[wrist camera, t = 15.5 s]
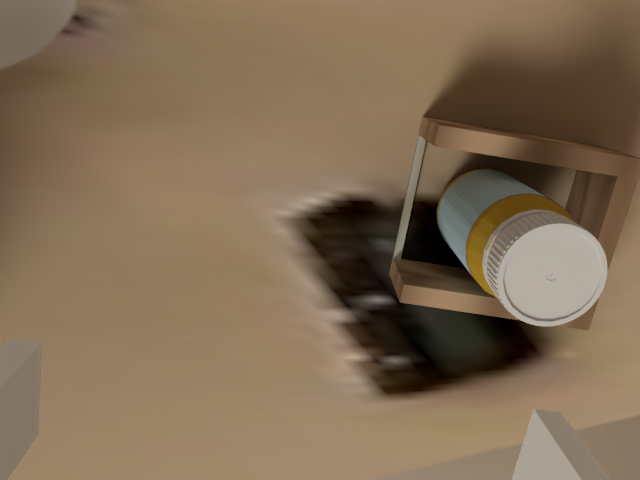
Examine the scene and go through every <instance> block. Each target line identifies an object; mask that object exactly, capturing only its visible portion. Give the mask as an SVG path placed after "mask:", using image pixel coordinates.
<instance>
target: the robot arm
mask: <svg viewBox="0 0 640 480" xmlns="http://www.w3.org/2000/svg"><path fill="white" fill-rule="evenodd" d="M41 347H42V343H40V342H32V341H25V340H17V339H10V340H9V341H8V342H7V343H6V344H5V345H4V346H3V347H2V348H1V349H0V480H7V478H8V477H9V476H10V474H11V473H12V471H13V470H14V468H15V467H16V466H17V464H18V463H19V461H20V460H21V458H22V457H23V456H24V454H25V453H26V451H27V450H28V448H29V447H30V446H31V444H32V443H33V441H34V440H35V439H36V437H37V436H38V424H39V398H40V372H41ZM512 480H610V478H609V477H608V476H607V474H606V473H605V472H604V470H603V469H602V468H601V466H600V465H599V464H598V462H597V461H596V460H595V458H594V457H593V456H592V454H591V453H590V452H589V450H588V449H587V447H586V446H585V445H584V443H583V442H582V441H581V439H580V438H579V437H578V435H577V434H576V433H575V431H574V430H573V429H572V427H571V426H570V425H569V423H568V422H567V421H566V419H565V418H564V416H563V415H562V414H561V412H553V411H546V410H538V409H534V410H533V413H532V416H531V420H530V423H529V426H528V429H527V432H526V436H525V439H524V442H523V445H522V448H521V452H520V455H519V458H518V461H517V464H516V468H515V471H514V474H513V477H512Z"/></svg>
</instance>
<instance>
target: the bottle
mask: <svg viewBox="0 0 640 480" xmlns="http://www.w3.org/2000/svg"><path fill="white" fill-rule="evenodd" d="M437 223H438V227H439V229H440V232H441V234H442V236H443V238H444V239H445V241H446V242H447V243H448V245H449V246H450V247H451V249H452V250H453V251H454V253H455V254H456V255H457V257H458V258H459V259H460V261H461V262H462V263H463V265H464V266H465V267H466V269H467V270H468V271H469V273H470V274H471V275H472V277H473V278H474V279H475V280H476V282H477V283H478V284H479V285H480V286H481V287H482V288H483V289H484V290H485V291H486V292H488V293H489V294H491V295H493V296H494V297H496V298H498V299H499V301H500V302H501V303H502V304H503V306H504V307H505V308H506V309H507V311H509V312H510V313H511V314H512V315H514V316H515V317H516V318H518V319H520V320H521V321H524V322H526V323H529V324H532V325H537V326H556V325H561V324H564V323H567V322H570V321H572V320H574V319H576V318H578V317H579V316H581V315H582V314H584V313H585V312H586V311H587V310H589V309H590V308H591V307H592V306H593V304H594V303H595V302H596V301H597V299H598V298H599V296H600V294H601V293H602V291H603V288H604V286H605V283H606V278H607V260H606V256H605V253H604V250H603V248H602V246H601V245H600V243H599V241H597V239H596V237H594V236H593V235H592V233H590V232H589V231H588V230H586V229H585V228H583V227H582V226H580V225H578V224H577V223H575V222H574V221H573V219H572V218H571V216H570V215H569V214H568V213H567V211H566V210H565V209H564V208H563V207H561V206H560V205H558V204H557V203H555V202H554V201H552V200H550V199H549V198H547V197H545V196H544V195H542V194H540V193H538V192H537V191H535V190H533V189H532V188H530V187H528V186H526V185H525V184H523V183H521V182H520V181H518V180H516V179H514V178H513V177H511V176H509V175H507V174H506V173H503V172H501V171H498V170H493V169H488V168H484V169H474V170H471V171H468V172H466V173H464V174H461V175H460V176H458V177H457V178H456V179H454V180H453V181H452V182H451V183H450V184H449V185H448V186H447V187H446V189H445V190H444V192H443V193H442V195H441V197H440V200H439V203H438V207H437Z"/></svg>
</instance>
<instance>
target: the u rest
mask: <svg viewBox="0 0 640 480" xmlns="http://www.w3.org/2000/svg"><path fill="white" fill-rule="evenodd" d="M426 141H428V142H429V143H431V144H432V145H434V146H437V147H443V148H449V149H455V150H461V151H467V152H473V153H479V154H486V155H492V156H498V157H504V158H510V159H516V160H522V161H528V162H534V163H540V164H546V165H552V166H558V167H564V168H570V169H576V170H577V172H576V175H575V179H574V182H573V185H572V189H571V192H570V196H569V199H568V202H567V206H566V209H565V210H566V211H567V213H568V214H569V215H570V216H571V218H572V219H573V221H574V222H575V223H577V224H578V225H580V226H582V227H583V228H585V229H586V230H588V231H589V232H590V233H592V235H593V236H594V237H596V239H597V241H599V243H600V245H601V246H602V248H603V250H604V253H605V256H606V260H607V272H608V269H609V266H610V262H611V259H612V256H613V253H614V250H615V247H616V244H617V241H618V238H619V235H620V232H621V229H622V226H623V222H624V219H625V216H626V213H627V210H628V207H629V204H630V201H631V198H632V195H633V192H634V189H635V186H636V182H637V179H638V176H639V173H640V158H637V157H634V156H631V155H627V154H624V153H620V152H617V151H614V150H610V149H607V148H604V147H599V146H593V145H587V144H581V143H575V142H569V141H563V140H557V139H551V138H546V137H540V136H534V135H528V134H522V133H516V132H510V131H504V130H498V129H492V128H486V127H480V126H474V125H468V124H463V123H457V122H451V121H445V120H439V119H433V118H427V117H422V122H421V127H420V131H419V136H418V141H417V146H416V150H415V155H414V160H413V164H412V169H411V174H410V179H409V183H408V188H407V193H406V197H405V202H404V207H403V212H402V216H401V221H400V226H399V231H398V235H397V240H396V245H395V249H394V254H393V259H392V264H391V268H390V273H389V274H390V277H391V279H392V282H393V285H394V288H395V290H396V293H397V296H398V298H399V301H400V302H401V303H408V304H415V305H421V306H428V307H435V308H442V309H448V310H455V311H462V312H468V313H475V314H482V315H489V316H495V317H502V318H509V319H516V320H520V319H518V318H516V317H515V316H514V315H512V314H511V313H510V312H509V311H507V309H506V308H505V307H504V306H503V304H502V303H501V302H500V301H499V299H498V298H496V297H494V296H493V295H491V294H489V293H488V292H486V291H485V290H484V289H483V288H482V287H481V286H480V285H479V284H478V283H477V282H476V280H475V279H474V278H473V277H472V275H471V274H470V273H469V271H468V270H467V269H464V268H457V267H451V266H444V265H438V264H431V263H425V262H418V261H412V260H405V259H401V255H402V251H403V246H404V242H405V237H406V232H407V228H408V223H409V218H410V214H411V209H412V204H413V200H414V195H415V191H416V186H417V181H418V177H419V172H420V167H421V163H422V158H423V154H424V149H425V144H426ZM598 299H599V298H598ZM598 299H597V301H596V302H595V303H594V304H593V306H592V307H591V308H590V309H589V310H587V311H586V312H585V313H584V314H582V315H581V316H579V317H578V318H576V319H574V320H572V321H570V322H567V323H564V324H561V325H556V326H563V327H569V328H576V329H583V330H589V327H590V324H591V321H592V318H593V315H594V312H595V309H596V306H597V302H598Z"/></svg>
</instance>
